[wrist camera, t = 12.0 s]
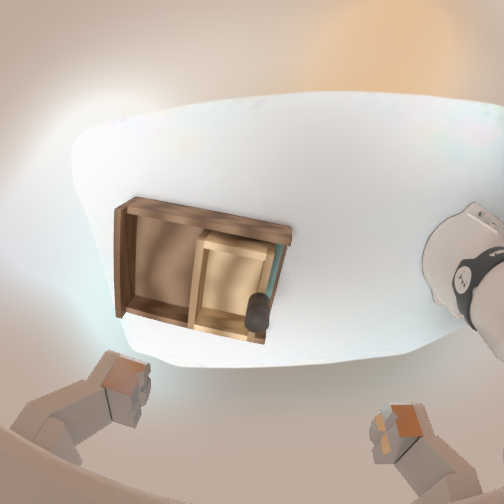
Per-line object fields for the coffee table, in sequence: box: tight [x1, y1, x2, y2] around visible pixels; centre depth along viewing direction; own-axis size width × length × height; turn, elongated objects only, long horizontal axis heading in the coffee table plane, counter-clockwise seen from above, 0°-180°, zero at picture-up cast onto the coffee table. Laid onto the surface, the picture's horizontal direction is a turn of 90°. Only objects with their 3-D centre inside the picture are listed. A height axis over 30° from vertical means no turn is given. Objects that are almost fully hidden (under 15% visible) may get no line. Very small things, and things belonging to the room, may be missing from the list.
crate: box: [187, 228, 275, 342], centre depth 43 cm, size 11×14×11 cm
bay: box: [114, 197, 292, 344], centre depth 46 cm, size 24×18×7 cm
